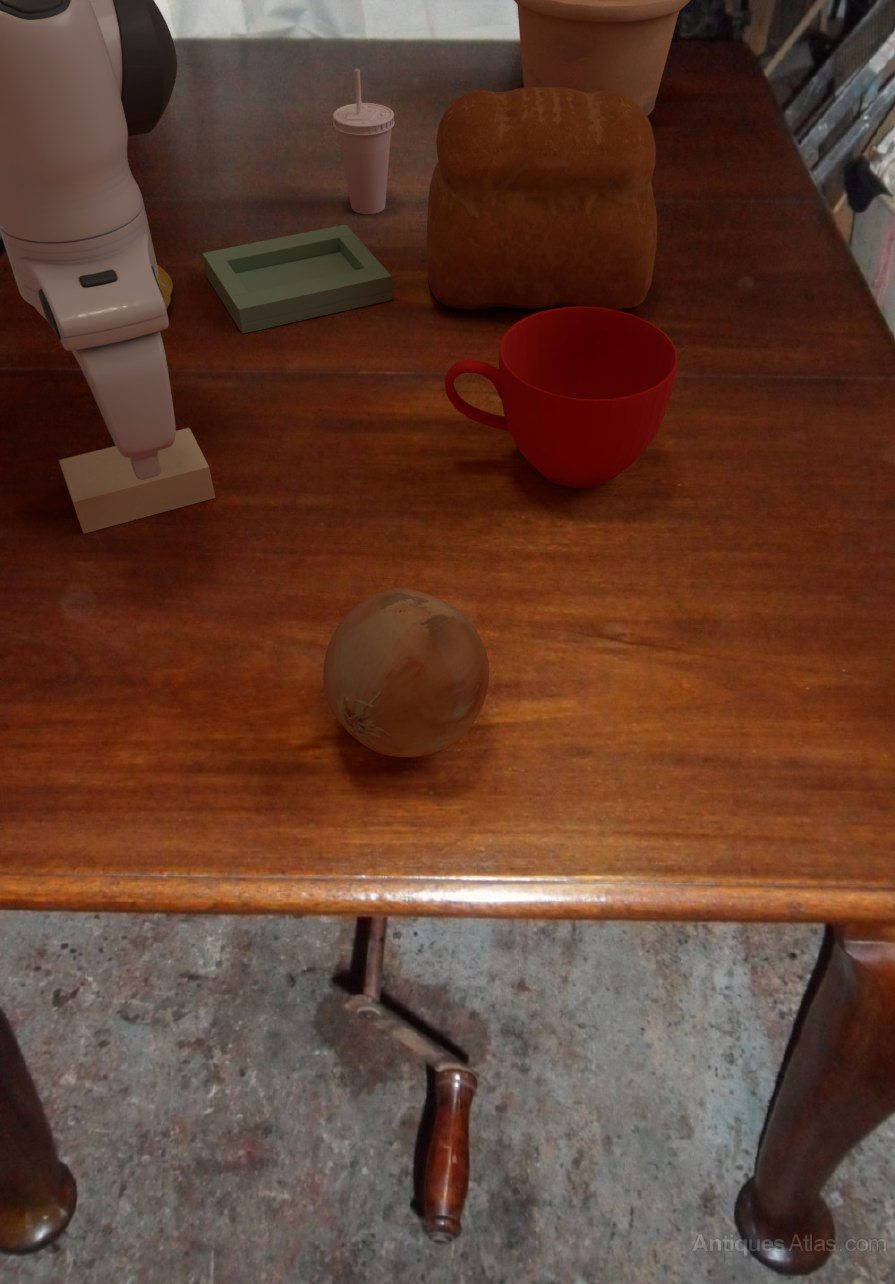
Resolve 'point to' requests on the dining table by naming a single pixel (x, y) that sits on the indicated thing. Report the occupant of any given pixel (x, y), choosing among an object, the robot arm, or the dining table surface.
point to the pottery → (597, 45)
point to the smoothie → (365, 150)
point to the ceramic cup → (577, 391)
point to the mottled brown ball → (406, 673)
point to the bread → (542, 201)
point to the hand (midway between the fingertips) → (131, 437)
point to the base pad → (296, 278)
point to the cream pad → (135, 484)
